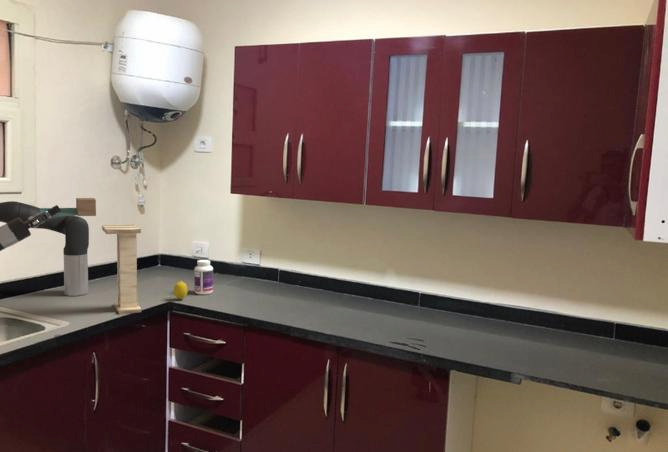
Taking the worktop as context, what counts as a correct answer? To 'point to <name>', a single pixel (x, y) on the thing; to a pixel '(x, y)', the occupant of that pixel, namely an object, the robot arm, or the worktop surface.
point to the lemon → (180, 290)
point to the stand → (126, 266)
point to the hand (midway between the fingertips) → (58, 207)
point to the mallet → (77, 208)
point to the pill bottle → (203, 277)
